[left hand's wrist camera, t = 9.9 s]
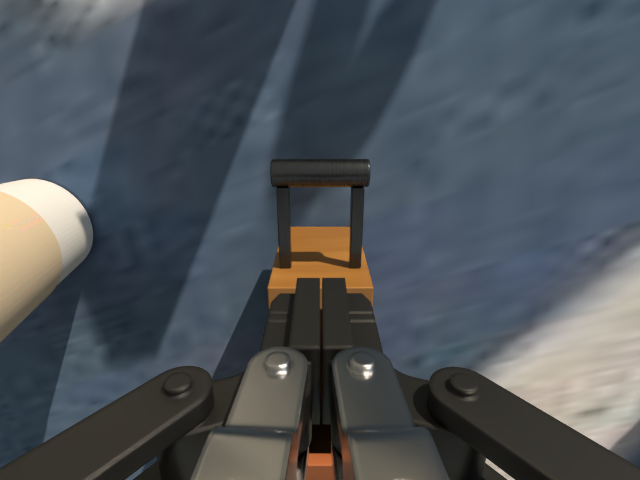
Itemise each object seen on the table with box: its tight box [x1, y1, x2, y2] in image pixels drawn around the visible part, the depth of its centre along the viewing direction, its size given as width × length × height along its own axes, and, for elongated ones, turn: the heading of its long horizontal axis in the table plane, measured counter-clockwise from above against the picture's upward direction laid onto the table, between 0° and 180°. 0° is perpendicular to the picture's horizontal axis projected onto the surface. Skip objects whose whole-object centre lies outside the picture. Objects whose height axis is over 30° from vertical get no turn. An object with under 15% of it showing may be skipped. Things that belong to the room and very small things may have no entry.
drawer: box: [267, 159, 373, 453], centre depth 24 cm, size 22×5×9 cm, turn 0°
